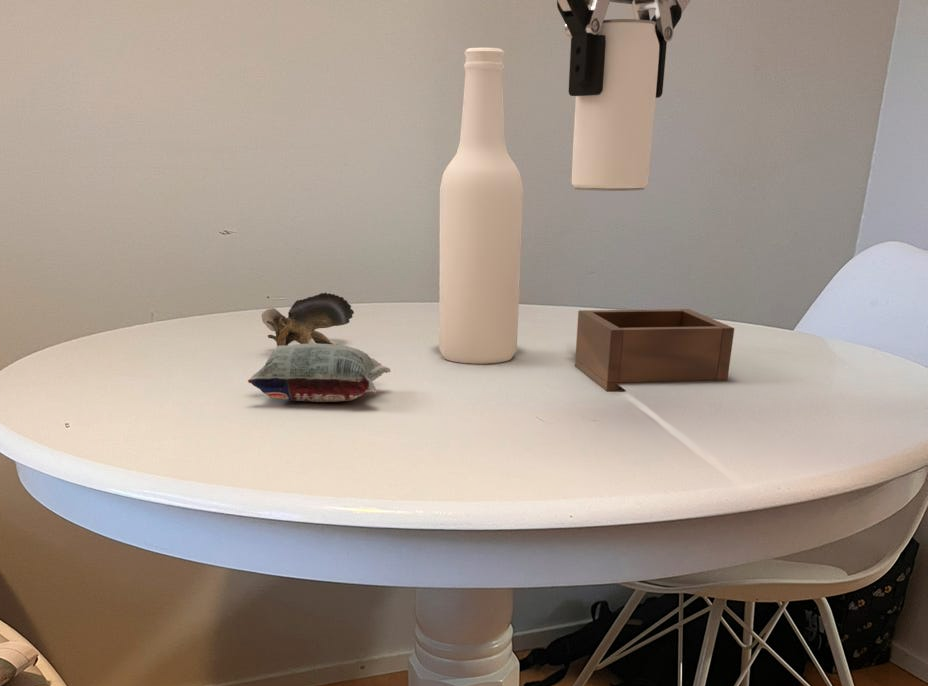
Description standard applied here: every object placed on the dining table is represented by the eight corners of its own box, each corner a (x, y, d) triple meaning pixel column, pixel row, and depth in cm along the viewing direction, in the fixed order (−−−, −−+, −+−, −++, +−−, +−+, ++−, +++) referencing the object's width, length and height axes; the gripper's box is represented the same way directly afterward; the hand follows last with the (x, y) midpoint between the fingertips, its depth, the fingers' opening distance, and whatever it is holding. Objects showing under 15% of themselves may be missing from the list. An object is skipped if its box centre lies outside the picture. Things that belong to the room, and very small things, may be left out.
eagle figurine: (308, 353, 106) (367, 328, 111) (273, 294, 104) (334, 270, 110) (279, 381, 112) (335, 356, 117) (245, 325, 111) (304, 302, 116)
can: (592, 187, 87) (602, 29, 81) (660, 189, 84) (675, 24, 78) (557, 189, 82) (565, 22, 77) (627, 191, 79) (640, 16, 73)
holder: (683, 363, 108) (689, 308, 106) (726, 388, 97) (734, 328, 95) (574, 365, 107) (578, 310, 104) (606, 391, 96) (611, 330, 93)
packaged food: (273, 385, 97) (269, 334, 94) (391, 389, 96) (390, 337, 93) (248, 407, 89) (243, 352, 87) (376, 412, 88) (375, 356, 86)
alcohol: (531, 355, 112) (545, 50, 98) (488, 368, 105) (496, 43, 92) (468, 346, 116) (473, 54, 103) (423, 358, 110) (422, 47, 96)
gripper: (589, -221, 64) (574, 91, 72) (748, -172, 74) (719, 98, 82) (513, -193, 69) (506, 95, 78) (671, -151, 79) (650, 101, 87)
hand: (615, 94), depth 80 cm, fingers closed on can, 6 cm apart
